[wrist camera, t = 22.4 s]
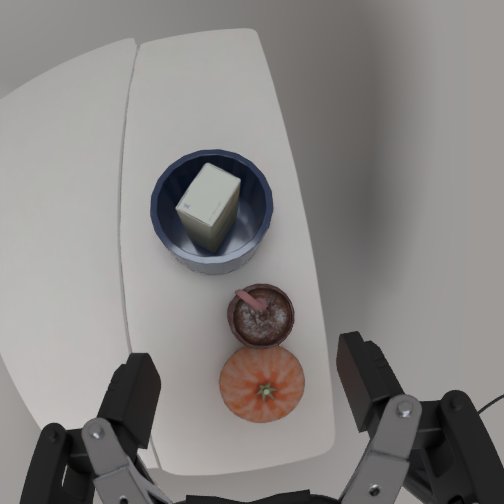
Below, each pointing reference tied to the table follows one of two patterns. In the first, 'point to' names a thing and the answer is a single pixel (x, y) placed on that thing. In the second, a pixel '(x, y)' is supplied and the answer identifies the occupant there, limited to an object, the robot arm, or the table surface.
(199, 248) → the pot
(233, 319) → the rusty soda tin
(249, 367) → the tomato
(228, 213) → the cosmetic box
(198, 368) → the table surface
